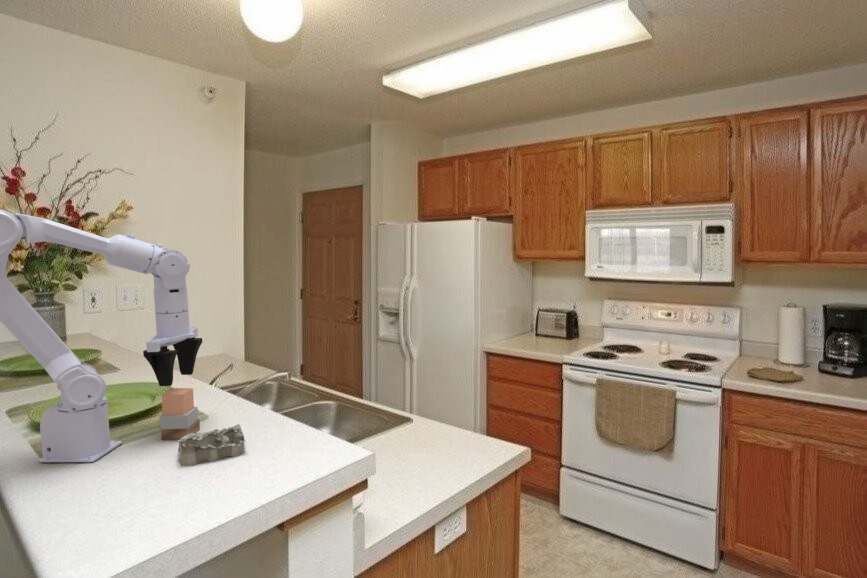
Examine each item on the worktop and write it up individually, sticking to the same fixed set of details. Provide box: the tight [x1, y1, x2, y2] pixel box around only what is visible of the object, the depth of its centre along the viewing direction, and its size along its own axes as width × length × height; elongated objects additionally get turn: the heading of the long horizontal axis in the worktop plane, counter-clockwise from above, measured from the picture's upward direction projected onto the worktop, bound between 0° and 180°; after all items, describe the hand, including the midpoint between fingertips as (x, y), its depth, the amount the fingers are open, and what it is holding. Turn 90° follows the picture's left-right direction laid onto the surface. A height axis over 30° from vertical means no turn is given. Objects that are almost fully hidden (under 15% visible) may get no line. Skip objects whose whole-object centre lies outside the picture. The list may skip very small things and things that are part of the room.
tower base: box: [160, 418, 201, 441], centre depth 95 cm, size 5×5×2 cm
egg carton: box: [177, 423, 246, 467], centre depth 87 cm, size 11×8×4 cm
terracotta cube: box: [161, 387, 195, 415], centre depth 94 cm, size 4×4×4 cm
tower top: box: [159, 406, 199, 430], centre depth 95 cm, size 5×5×2 cm
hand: (176, 379), depth 96 cm, fingers open, 7 cm apart
